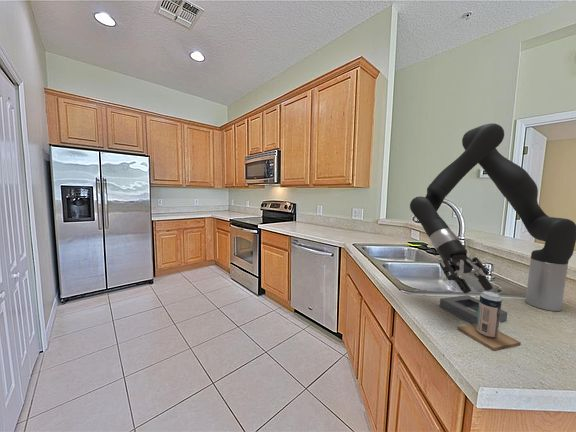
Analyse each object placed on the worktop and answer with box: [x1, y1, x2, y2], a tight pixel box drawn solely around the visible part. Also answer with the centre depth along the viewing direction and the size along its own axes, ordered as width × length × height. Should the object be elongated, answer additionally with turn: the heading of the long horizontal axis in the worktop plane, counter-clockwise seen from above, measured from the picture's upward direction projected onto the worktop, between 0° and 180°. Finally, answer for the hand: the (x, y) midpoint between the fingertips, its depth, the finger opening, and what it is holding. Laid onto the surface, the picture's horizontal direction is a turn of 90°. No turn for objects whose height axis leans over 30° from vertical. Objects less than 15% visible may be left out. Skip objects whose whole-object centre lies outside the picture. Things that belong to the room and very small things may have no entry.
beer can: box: [476, 290, 503, 337], centre depth 67 cm, size 5×5×12 cm
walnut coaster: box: [456, 323, 522, 351], centre depth 68 cm, size 10×10×1 cm
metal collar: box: [439, 294, 508, 325], centre depth 81 cm, size 13×13×3 cm
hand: (479, 291), depth 70 cm, fingers open, 8 cm apart
